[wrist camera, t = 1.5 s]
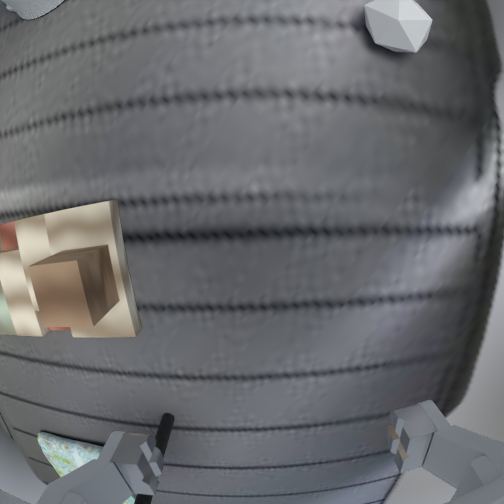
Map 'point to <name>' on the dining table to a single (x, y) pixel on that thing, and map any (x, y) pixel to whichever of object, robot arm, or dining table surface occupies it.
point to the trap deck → (49, 243)
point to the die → (397, 24)
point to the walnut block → (74, 287)
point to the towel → (70, 454)
